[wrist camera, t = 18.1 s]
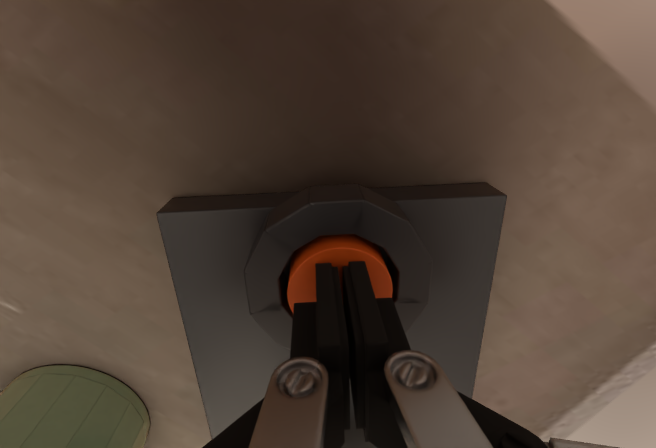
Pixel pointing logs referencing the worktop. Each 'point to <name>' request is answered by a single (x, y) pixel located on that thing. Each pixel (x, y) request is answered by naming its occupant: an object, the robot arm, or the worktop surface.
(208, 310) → the orange button base plate
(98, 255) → the worktop surface
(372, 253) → the orange push button
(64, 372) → the green cup
